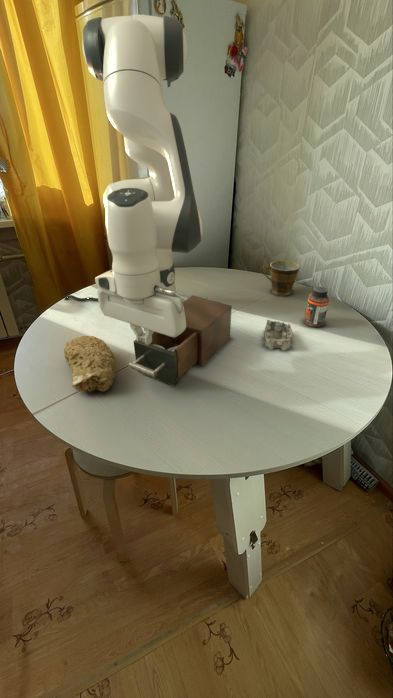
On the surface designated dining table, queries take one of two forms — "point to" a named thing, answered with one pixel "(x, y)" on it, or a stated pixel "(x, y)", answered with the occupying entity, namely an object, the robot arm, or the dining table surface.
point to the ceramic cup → (282, 276)
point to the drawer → (167, 356)
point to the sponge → (90, 363)
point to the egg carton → (277, 335)
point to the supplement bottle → (317, 307)
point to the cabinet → (208, 324)
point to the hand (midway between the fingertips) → (144, 341)
